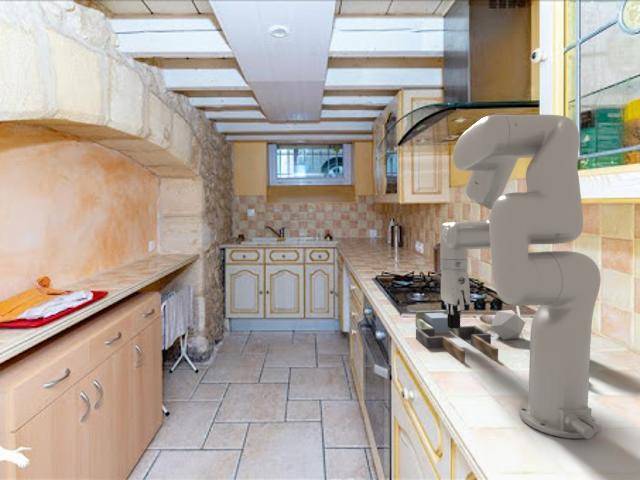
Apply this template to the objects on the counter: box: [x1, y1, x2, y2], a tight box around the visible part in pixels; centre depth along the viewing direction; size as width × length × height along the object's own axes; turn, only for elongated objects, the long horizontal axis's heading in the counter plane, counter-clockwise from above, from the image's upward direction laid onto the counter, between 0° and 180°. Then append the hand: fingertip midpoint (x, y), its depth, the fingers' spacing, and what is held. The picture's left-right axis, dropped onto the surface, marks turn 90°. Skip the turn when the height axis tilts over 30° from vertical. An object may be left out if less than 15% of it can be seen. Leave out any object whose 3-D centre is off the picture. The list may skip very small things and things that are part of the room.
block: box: [424, 313, 451, 334], centre depth 134 cm, size 6×6×5 cm
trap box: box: [415, 309, 499, 363], centre depth 123 cm, size 33×19×5 cm, turn 7°
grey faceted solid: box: [489, 309, 526, 341], centre depth 126 cm, size 8×9×10 cm
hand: (453, 327), depth 122 cm, fingers closed
